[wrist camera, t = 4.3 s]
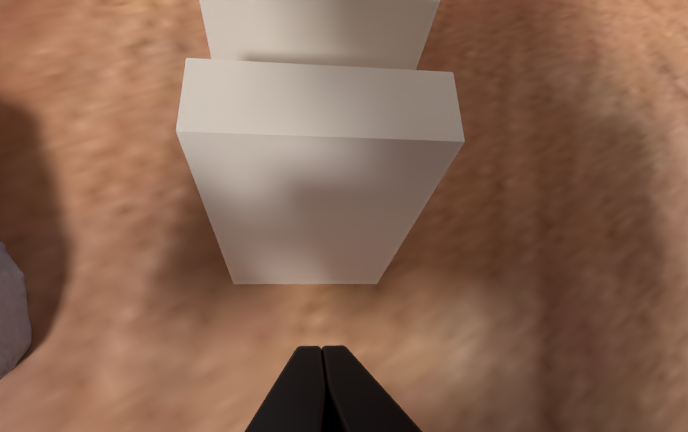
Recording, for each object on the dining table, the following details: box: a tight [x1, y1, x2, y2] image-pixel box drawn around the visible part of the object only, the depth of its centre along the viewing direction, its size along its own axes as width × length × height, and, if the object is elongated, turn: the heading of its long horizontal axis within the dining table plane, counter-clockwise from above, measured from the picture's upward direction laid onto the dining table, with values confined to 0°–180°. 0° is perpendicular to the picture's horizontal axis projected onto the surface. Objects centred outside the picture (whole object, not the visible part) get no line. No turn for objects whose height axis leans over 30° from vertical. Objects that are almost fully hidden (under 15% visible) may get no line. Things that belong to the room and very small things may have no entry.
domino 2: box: [199, 0, 440, 70], centre depth 14 cm, size 2×5×9 cm, turn 92°
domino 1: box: [176, 58, 465, 284], centre depth 12 cm, size 2×5×9 cm, turn 92°
